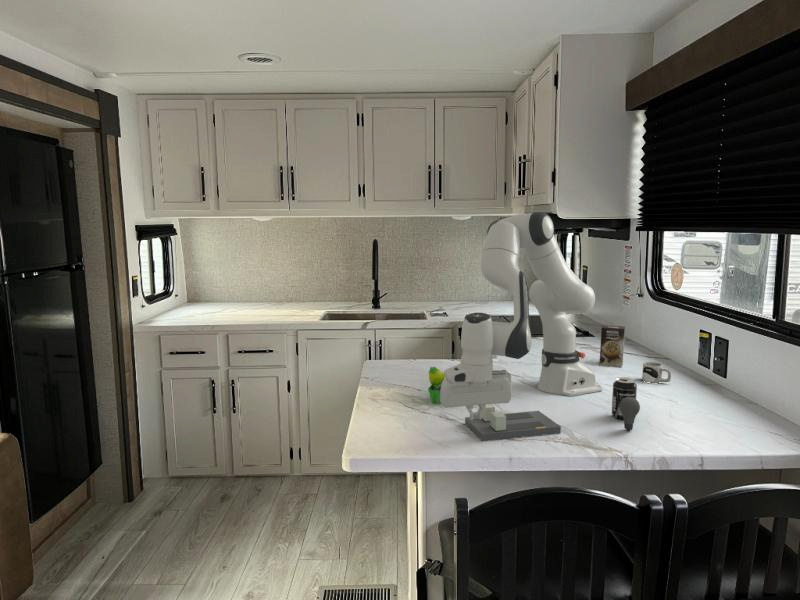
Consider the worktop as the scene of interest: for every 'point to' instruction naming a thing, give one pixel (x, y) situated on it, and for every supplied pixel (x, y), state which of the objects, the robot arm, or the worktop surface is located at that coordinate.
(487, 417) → the cream tab
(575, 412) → the worktop surface
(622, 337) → the coffee box
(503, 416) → the sage tab
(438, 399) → the fruit basket
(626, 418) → the light bulb
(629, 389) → the beverage can
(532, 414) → the switch panel
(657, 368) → the mug
